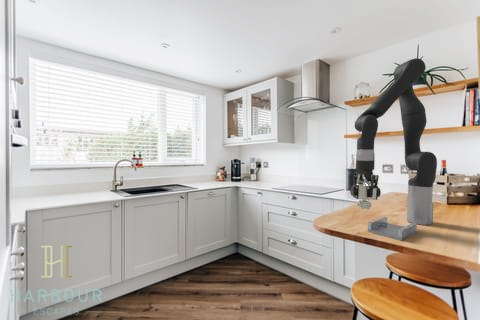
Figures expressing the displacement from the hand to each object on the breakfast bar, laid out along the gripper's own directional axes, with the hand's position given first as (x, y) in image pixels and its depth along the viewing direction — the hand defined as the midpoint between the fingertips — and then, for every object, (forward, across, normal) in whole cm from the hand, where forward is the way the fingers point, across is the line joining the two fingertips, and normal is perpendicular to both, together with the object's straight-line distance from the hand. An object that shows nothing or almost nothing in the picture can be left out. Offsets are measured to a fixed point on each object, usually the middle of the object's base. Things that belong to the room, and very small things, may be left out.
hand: (364, 195), depth 109 cm
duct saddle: (+12, -14, -2) cm, 19 cm away
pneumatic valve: (+6, 0, 0) cm, 6 cm away
